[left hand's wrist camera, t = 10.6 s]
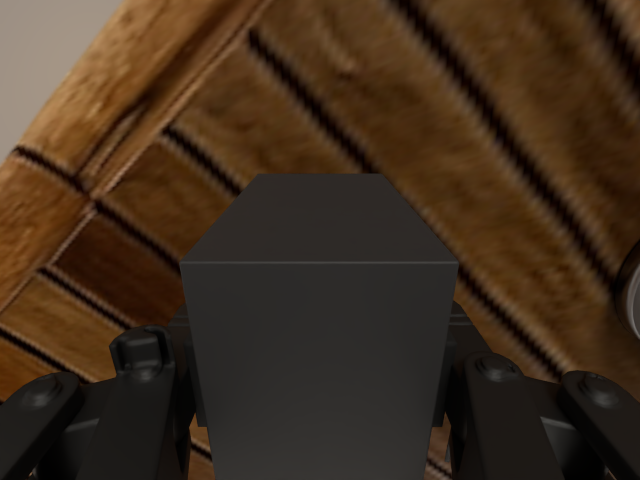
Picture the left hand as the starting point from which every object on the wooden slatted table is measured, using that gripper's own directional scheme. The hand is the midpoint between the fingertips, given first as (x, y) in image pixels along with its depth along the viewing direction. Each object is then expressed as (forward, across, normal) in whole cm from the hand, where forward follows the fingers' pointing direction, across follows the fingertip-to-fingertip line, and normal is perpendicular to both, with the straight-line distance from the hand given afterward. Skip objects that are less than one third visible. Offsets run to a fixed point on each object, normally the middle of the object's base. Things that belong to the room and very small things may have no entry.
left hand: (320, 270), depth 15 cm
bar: (+1, 0, -7) cm, 7 cm away
